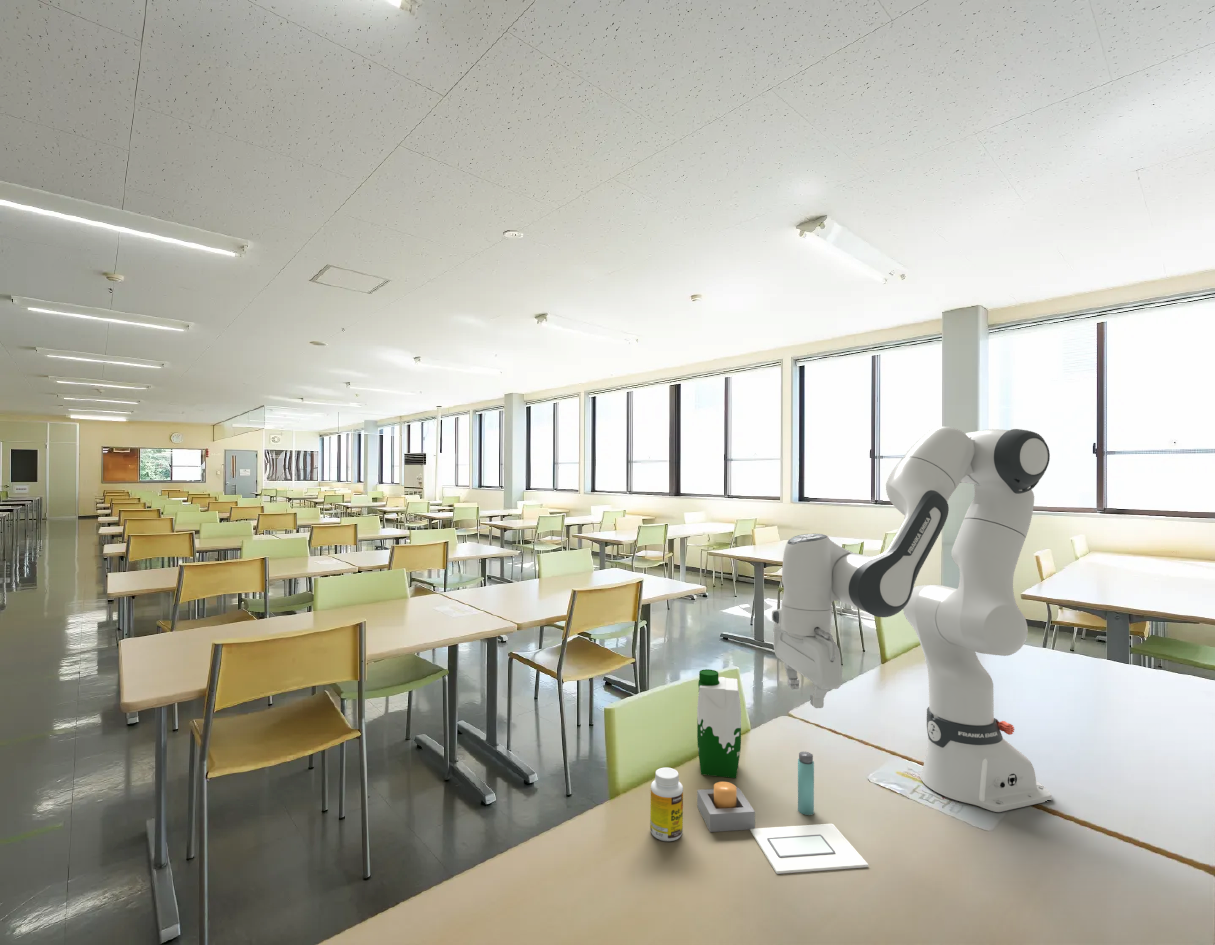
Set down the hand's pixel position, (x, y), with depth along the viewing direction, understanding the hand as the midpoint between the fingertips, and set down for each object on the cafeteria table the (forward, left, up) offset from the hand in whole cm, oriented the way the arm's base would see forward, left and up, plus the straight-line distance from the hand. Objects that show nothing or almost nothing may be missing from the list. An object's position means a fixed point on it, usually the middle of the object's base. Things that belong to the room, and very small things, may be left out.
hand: (804, 697), depth 106 cm
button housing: (+15, +1, -21) cm, 26 cm away
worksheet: (+5, +11, -21) cm, 24 cm away
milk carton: (+11, -17, -21) cm, 29 cm away
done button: (+15, +1, -19) cm, 24 cm away
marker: (0, 0, -21) cm, 21 cm away
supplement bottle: (+27, +4, -21) cm, 34 cm away
